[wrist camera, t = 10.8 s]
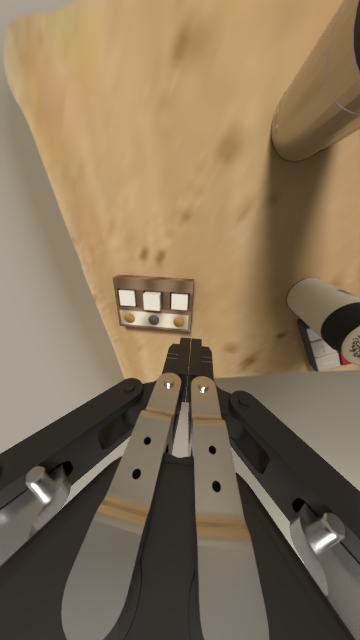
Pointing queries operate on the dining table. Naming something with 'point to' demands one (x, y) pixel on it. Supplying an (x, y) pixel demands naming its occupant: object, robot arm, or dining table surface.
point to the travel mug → (329, 315)
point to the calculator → (319, 350)
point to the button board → (152, 318)
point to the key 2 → (179, 301)
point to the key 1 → (128, 297)
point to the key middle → (152, 300)
